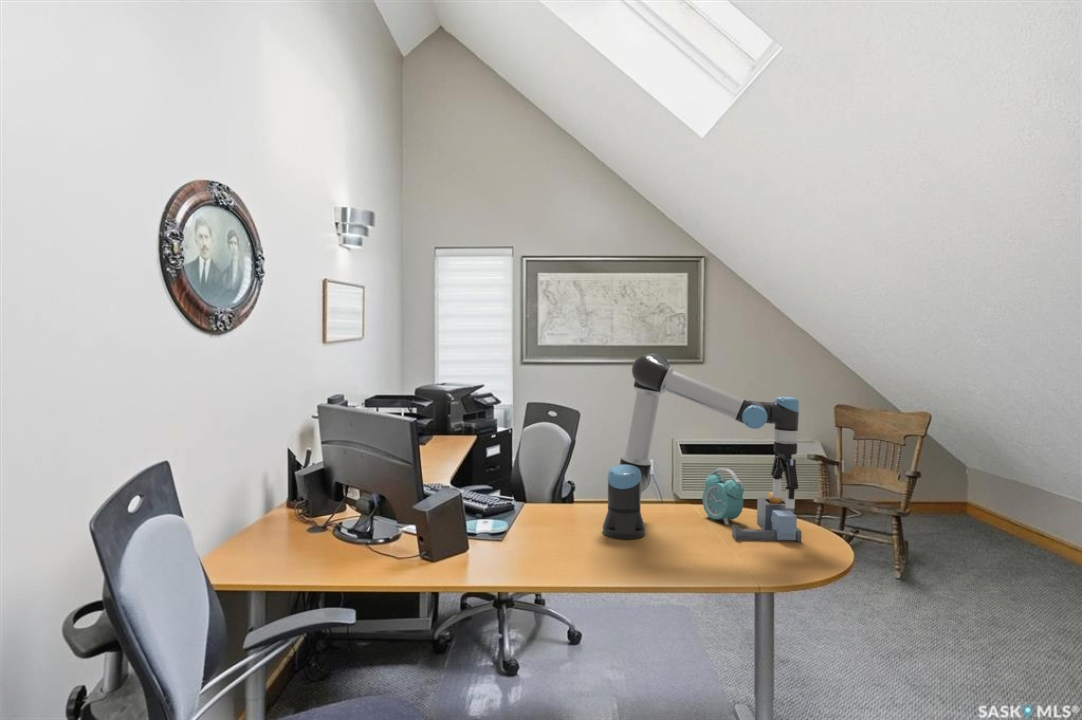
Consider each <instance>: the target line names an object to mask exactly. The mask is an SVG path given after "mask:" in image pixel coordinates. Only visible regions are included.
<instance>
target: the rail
mask: <svg viewBox="0 0 1082 720" xmlns="http://www.w3.org/2000/svg"><path fill="white" fill-rule="evenodd" d="M731 527H732V529H731V531H732V532H731V537H732V538H733V540H734V541H735V542H741V541H757V542H758V541H761V542H762V541H763V542H766V541H767V542H769V541H770V542H796V543H800V544H801V543H802V530H801V529H800V528H799V527H797V529H796V540H778V539H777V532H776V531H775V530H765V529H762V528H760V529H759V528H758V529H757V528H740V527H739V526H738V525H737V524H732V526H731Z"/></svg>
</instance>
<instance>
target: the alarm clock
mask: <svg viewBox="0 0 1082 720" xmlns="http://www.w3.org/2000/svg"><path fill="white" fill-rule="evenodd" d="M721 471H725V472H728V473H729V474H730V475H731V477H732V478H731V479H728V480H727V479H726V478H725V477H724V478H723V476H721V474H718V473H719V472H721ZM704 484H705V488H704V490H703V494H702V506H703V509H704V511H705V513H706V515H707V516H706V518H708V517H709V518H711V519H712V520H723V522H724V525H725V526H728V525H730V523H729V520H735V519H737V518H738V517H740V515H741V513H742V512H743V508H744V497H743V495H744V492H745V487H744V485H743V484H742V482H741V480H740V479H739V478H738V475H737V474H736V473H735V472H734V471H733V470H732V469H730V468H725V467H719V468H717V469H715V470H714V471H712V472H710V474H709V476H707V477H706V478H705V481H704Z"/></svg>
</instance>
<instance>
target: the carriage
mask: <svg viewBox="0 0 1082 720" xmlns="http://www.w3.org/2000/svg"><path fill="white" fill-rule="evenodd" d="M797 520H798V518H797V515H796V514H795V513H794V514H793V513H792V512H791V511H782V510H772V530H775V531H776V532H777V539H778V540H796V529H797V528H798V527H797V525H798V524H797Z"/></svg>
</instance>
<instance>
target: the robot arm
mask: <svg viewBox="0 0 1082 720" xmlns="http://www.w3.org/2000/svg"><path fill="white" fill-rule="evenodd" d="M631 374H632V378H634V383H633V388H634V390H635V391H636V395H635V401H634V404H633V405H634V406H633V411H632V417H631V422H630V428H629V433H628V440H627V445H626V449H625V453H624V454H623V455H621V456H620V461H619V464H618V465H614V466H612V467H611V468H609V470H608V472H607V473H608V474H607V512H606V514H605V518H604V520H603V524H602V533H603V534H604V535H605V536H606V537H609V538H613V539H618V540H619V539H620V540H636V539H640V538H643V537H644V536H645V535H646V525H645V523H644V518H643V516H642V512H641V509H642V508H641V503H642V502H641V501H642V500H641V496H642V495H641V494H642V493H643V492H644V491H646V490H647V489H648V488H649V486H650V483H651V477H652V475H651V468H652V461H651V460H650V457H649V456H650V451H651V445H652V439H653V435H654V428H655V424H656V418H657V412H658V406H659V401H660V397H661V396H662V395H664V393H665V392H668V393H670V394H673V395H674V396H676V397H680V398H682V399H685V400H686V401H688V402H691V403H694V404H697V405H699V406H701V407H704V408H707V409H708V410H711V411H713V412H716V413H718V414H720V415H723V416H726V417H728V418H730V419H733V420H734V421H737V422H739V423H741V424H744V425H745V426H746V427H747V428H749V429H753V430H756V429H760V428H762V427H763V426H765V425H766V424H771V425H772V424H774V428H773V429H774V430H773V431H774V432H773V434H774V435H773V440H774V442H773V452H774V461H773V463H772V469H771V472H770V475H771V477H772V479H773V481H772V486H773V487H772V492H773V497H775V498H781V493H782V485H783V484H782V482H783V481H782V480H784V479H783V475H784V478H785V483H786V486H785V499H786V506H785V508H792V509H794V510H795V508H796V507H795V506H796V505H795V504H796V503H795V501H796V490H799V484H798V475H797V467H796V466H797V465H796V462H797V461H796V459H795V458H794V459H793V458H792V456H793V455H797V454H798V444H797V442H798V436H799V435H800V433H799V432H798V431H799V416H800V405H799V400H798V398H796V397H792V396H791V397H790V396H777V397H776V398H775V401H759V400H758V401H757V400H755V401H754V400H746V399H744V398H741V397H740V396H736V395H734V394H731V393H730V392H728V391H724V390H723V389H719V388H717V387H715V386H712V385H710V384H707V383H705V382H702V381H700V380H697V379H695V378H692V377H691V376H687V375H685V374H682V373H680V372H678V371H675V370H674V368H673V366H671V365H670V363H669V361H668V360H667V358H666V357H665V356H663V355H661V354H659V353H652V352H651V353H646V354H643V355H640V356H639V357H638V356H637V358H636V359H635V360H634V361H633V364H632V368H631ZM783 473H784V474H783Z"/></svg>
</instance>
